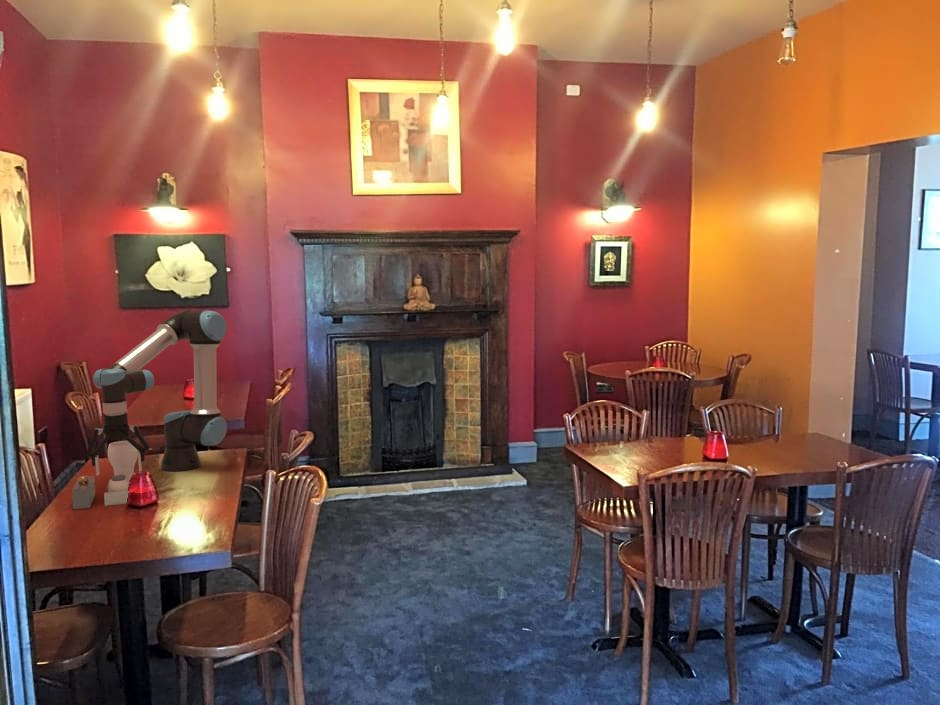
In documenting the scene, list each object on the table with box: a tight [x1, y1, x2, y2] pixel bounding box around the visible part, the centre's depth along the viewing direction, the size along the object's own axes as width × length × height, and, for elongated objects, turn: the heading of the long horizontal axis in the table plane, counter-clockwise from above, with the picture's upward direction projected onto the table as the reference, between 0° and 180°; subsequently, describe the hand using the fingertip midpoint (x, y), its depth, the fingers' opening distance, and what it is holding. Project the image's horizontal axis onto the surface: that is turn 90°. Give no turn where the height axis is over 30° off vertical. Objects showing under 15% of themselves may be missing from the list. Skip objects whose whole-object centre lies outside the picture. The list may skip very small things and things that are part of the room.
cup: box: [107, 440, 139, 482], centre depth 282 cm, size 11×11×15 cm
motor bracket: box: [71, 475, 130, 510], centre depth 259 cm, size 18×16×9 cm
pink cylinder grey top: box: [108, 475, 128, 492], centre depth 261 cm, size 6×6×8 cm
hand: (119, 472), depth 261 cm, fingers open, 13 cm apart
